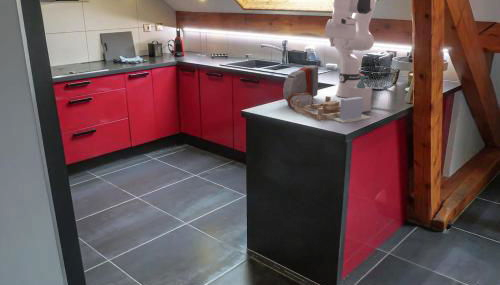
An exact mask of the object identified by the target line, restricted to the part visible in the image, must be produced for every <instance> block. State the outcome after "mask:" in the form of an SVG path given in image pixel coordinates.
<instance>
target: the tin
mask: <svg viewBox="0 0 500 285" xmlns="http://www.w3.org/2000/svg"><path fill="white" fill-rule="evenodd" d="M295 100H300V101H301V102H300V106H306V105H314V100H315V99H314V97H313V96H312V95H311V94H310V93H293V94H291V95H290V96H289V97H288V100H287V101H286V103H287V105H288V107H289V108H292V109H294V110H295Z"/></svg>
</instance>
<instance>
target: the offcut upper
mask: <svg viewBox="0 0 500 285" xmlns="http://www.w3.org/2000/svg"><path fill="white" fill-rule="evenodd" d="M322 103H323V109H326V110H332V109H335V108H339V106H340V101H337V100H331V101H330V102H326V103H325V102H322Z"/></svg>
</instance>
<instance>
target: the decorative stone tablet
mask: <svg viewBox="0 0 500 285" xmlns="http://www.w3.org/2000/svg"><path fill="white" fill-rule="evenodd" d="M318 89H319V66H318V65H314V64H313V65H312V64H310V65H308V66H305V67H301V68H299V69H297V70H295V71H292V72H290V73H289V74H287V77H286V79H285V81H284V83H283V90H282V93H283V98H284V100H285V101H286V102H287V100H288V97H289V96H290V95H291V94H293V93H310V94H311V95H312V96H313V98H314V97H316V96H318V93H319V92H318V91H319V90H318Z"/></svg>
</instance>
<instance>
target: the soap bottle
mask: <svg viewBox="0 0 500 285" xmlns="http://www.w3.org/2000/svg"><path fill="white" fill-rule="evenodd" d="M363 75H364V74H363ZM363 75H359V76H360V81H359V83H358V84H357V85H355V86H350V87H349V98H354V97H362V98H363V107H362V113H365V112H369V111H370V110H371V106H372V105H371V103H372V96H373V87H372V86H368V85H367V86H365V84H366V83H365V82H364V78H367V79H369V78H370V76H369V75H364V76H363ZM364 83H365V84H364Z"/></svg>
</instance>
